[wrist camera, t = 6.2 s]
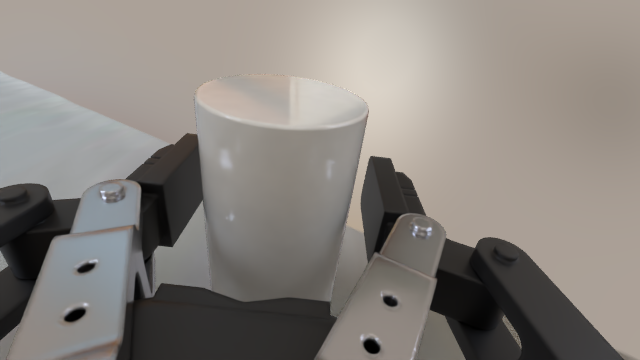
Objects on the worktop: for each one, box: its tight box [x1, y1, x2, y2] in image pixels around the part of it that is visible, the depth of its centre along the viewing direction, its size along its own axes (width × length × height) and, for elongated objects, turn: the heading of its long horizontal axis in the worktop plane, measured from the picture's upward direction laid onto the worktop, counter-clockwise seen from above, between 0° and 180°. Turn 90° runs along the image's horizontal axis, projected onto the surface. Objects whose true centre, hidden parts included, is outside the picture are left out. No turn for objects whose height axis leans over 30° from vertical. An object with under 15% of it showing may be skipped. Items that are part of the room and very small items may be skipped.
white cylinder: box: [194, 74, 369, 303], centre depth 11 cm, size 4×4×10 cm
